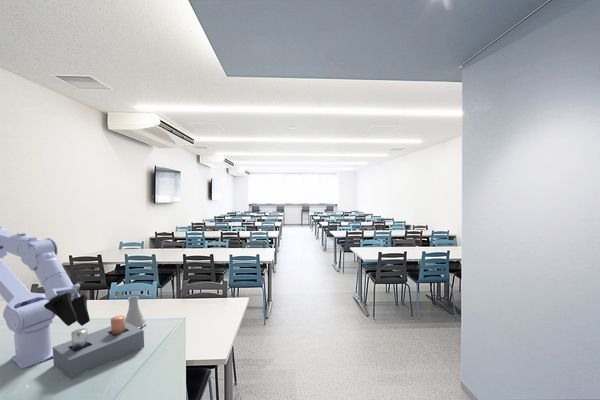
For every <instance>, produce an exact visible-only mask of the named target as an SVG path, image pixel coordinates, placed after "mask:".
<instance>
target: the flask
mask: <svg viewBox="0 0 600 400" xmlns="http://www.w3.org/2000/svg"><path fill="white" fill-rule="evenodd" d="M127 300H128V303H129V305H128V309H127V314H126V317H125V322H127V323H129V324H131V325H133V326H136V327H142V326H143V324H144V323H145V322H146V320H145V318H144V316H143V314H142V312H141V310H140V307H139V301H138V300H139V295H138V296H137V295H134V296H128V298H127ZM142 318H144V319H142Z"/></svg>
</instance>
